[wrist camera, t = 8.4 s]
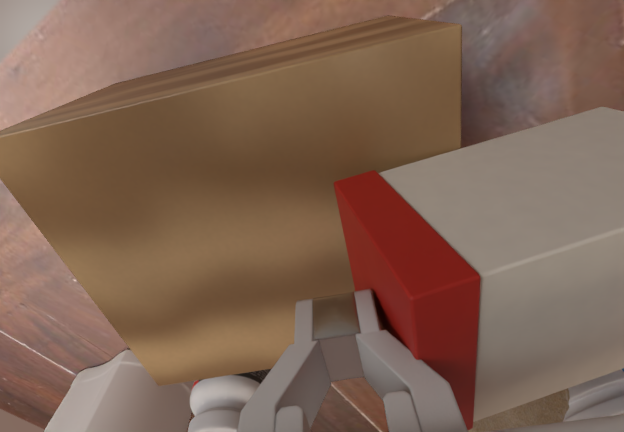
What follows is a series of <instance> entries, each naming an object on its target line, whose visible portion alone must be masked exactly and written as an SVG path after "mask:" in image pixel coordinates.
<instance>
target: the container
mask: <svg viewBox="0 0 624 432" xmlns="http://www.w3.org/2000/svg"><path fill="white" fill-rule="evenodd" d="M334 189H335V194H336V199H337V203H338V208H339V213H340V218H341V223H342V228H343V233H344V238H345V242H346V247H347V252H348V257H349V262H350V267H351V272H352V277H353V281H354V286H355V291H360V290H365V289H370V290H371V291H372V295H373V300H374V304H375V308H376V312H377V316H378V321H379V325H380V329H381V330H387V331H388V332H389V333H390V334H392V335H393V336H394V337H395V338H396V339H397V340H399V341H400V342H401V343H402V344H403V345H405V346H406V347H407V348H408V349H409V350H410V351H411V353H412V355H413V356H414V358H415V359H416V360H420V359H421V360H422V361H424V362H425V363H426V364H427V365H428V366H430V367H431V368H432V369H433V370H434V371H436V372H437V373H438V374H439V375H440V376H441V377H443V378H444V379H445V380H446V381H447V382H449V384H450V386H451V389H452V391H453V394H454V397H455V399H456V402H457V404H458V407H459V409H460V412H461V415H462V417H463V420H464V422H465V425H466V428H467V430H470V429H472V428H473V422H475V421H478V420H480V419H483V418H486V417H489V416H492V415H494V414H497V413H500V412H503V411H506V410H508V409H511V408H514V407H517V406H520V405H522V404H525V403H528V402H531V401H534V400H536V399H539V398H542V397H545V396H548V395H550V394H553V393H556V392H559V391H562V390H564V389H567V388H570V387H573V386H576V385H578V384H581V383H584V382H587V381H590V380H592V379H595V378H598V377H601V376H604V375H606V374H609V373H612V372H615V371H618V370H620V369H623V368H624V111H619V110H615V109H610V108H605V107H599V108H596V109H593V110H589V111H586V112H583V113H579V114H576V115H572V116H569V117H566V118H562V119H559V120H556V121H552V122H549V123H545V124H542V125H539V126H535V127H532V128H528V129H525V130H522V131H518V132H515V133H512V134H508V135H505V136H501V137H498V138H495V139H491V140H488V141H485V142H481V143H478V144H474V145H471V146H468V147H464V148H461V149H457V150H454V151H451V152H447V153H444V154H441V155H437V156H434V157H430V158H427V159H424V160H420V161H417V162H414V163H410V164H407V165H403V166H400V167H397V168H393V169H390V170H386V171H383V172H380V173H377V172H376V171H375V170H372V171H369V172H365V173H362V174H359V175H355V176H352V177H348V178H345V179H342V180H338V181H335V182H334Z"/></svg>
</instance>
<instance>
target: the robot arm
mask: <svg viewBox="0 0 624 432" xmlns="http://www.w3.org/2000/svg"><path fill="white" fill-rule="evenodd" d="M354 295H355V296H354ZM355 300H356V301H355ZM361 377H365V379H366V381H367V382H368V383H369V384H370V385H371V387H372V388H373V389H374V390H375V391H376V393H377V394H378V395H379V396H380V398H381V399H382V400H383V401H384V407H385V413H386V418H387V424H388V430H389V432H468V430H467V428H466V425H465V422H464V420H463V417H462V415H461V412H460V409H459V407H458V404H457V402H456V399H455V397H454V394H453V391H452V389H451V386H450V384H449V382H447V381H446V380H445V379H444V378H443V377H441V376H440V375H439V374H438V373H437V372H436V371H434V370H433V369H432V368H431V367H430V366H428V365H427V364H426V363H425V362H424V361H422V360H421V359H420V360H416V359H415V358H414V356H413V355H412V353H411V351H410V350H409V349H408V348H407V347H406V346H405V345H403V344H402V343H401V342H400V341H399V340H397V339H396V338H395V337H394V336H393V335H392V334H390V333H389V332H388V331H387V330H381V329H380V325H379V321H378V316H377V312H376V308H375V304H374V300H373V295H372V291H371V290H370V289H365V290H360V291H354V292H349V293H344V294H338V295H332V296H325V297H318V298H313V299H306V300H299V301H297V302H296V308H295V334H294V344H290V345H289V346H288V347H287V349H286V350H285V351H284V353H283V354H282V355H281V357H280V358H279V360H278V361H277V362H276V364H275V365H274V366H273V368H272V369H271V370H270V372H269V373H268V375H267V376H266V377H265V379H264V380H263V381H262V383H261V384H260V386H259V387H258V388H257V390H256V391H255V392H254V394H253V395H252V396H251V398H250V399H249V401H248V402H247V403H246V405H245V406H244V407H243V409H242V410H241V413H240V419H239V424H238V430H237V432H311V429H310V428H311V426H312V424H313V422H314V420H315V417H316V415H317V413H318V411H319V409H320V407H321V405H322V402H323V400H324V398H325V396H326V394H327V392H328V390H329V387H330V385H331V382H333V381H339V380H345V379H352V378H361ZM486 432H624V414H622V415H614V416H606V417H598V418H590V419H582V420H574V421H566V422H558V423H550V424H542V425H534V426H526V427H518V428H510V429H502V430H494V431H486Z"/></svg>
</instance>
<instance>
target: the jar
mask: <svg viewBox="0 0 624 432" xmlns="http://www.w3.org/2000/svg"><path fill="white" fill-rule="evenodd" d="M193 383H194V381H189V382H183V383H176V384H170V385H163V386H158V385H157V384H156V382H155V381H154V380H153V378H152V377H151V376H150V374H149V373H148V372H147V371H146V369H145V368H144V367H143V365H142V364H141V363H140V361H139V360H138V359H137V357H136V356H135V355H134V353H133V352H132V351H131V350H125V351H123V352H121V353H119V354H118V355H117V356H116V357H115V358H114V359H112V360H111V361H109V362H107V363H105V364H103V365H100V366H97V367H93V368H87V369H85V370H83V371H81V372H79V373H78V374H77V376H76V378H75V379H74V381H73V383H72V384H71V388H70V389H69V391H68V393H67V394H66V396H65V398H64V399H63V401H62V402H61V404H60V406H59V407H58V409H57V411H56V412H55V414H54V416H53V417H52V419H51V421H50V422H49V424H48V425H47V427H46V429H45V430H44V432H186V431H187V427H188V424H189V420H190V416H191V413H192V410H191V407H190V395H191V390H192V387H193Z"/></svg>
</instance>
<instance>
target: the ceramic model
mask: <svg viewBox="0 0 624 432" xmlns="http://www.w3.org/2000/svg"><path fill="white" fill-rule="evenodd" d="M569 399H570V396H569V390H568V388H567V389H564V390H562V391H559V392H556V393H553V394H550V395H548V396H545V397H542V398H539V399H536V400H534V401H531V402H528V403H525V404H522V405H520V406H517V407H514V408H511V409H508V410H506V411H503V412H500V413H497V414H494V415H492V416H489V417H486V418H483V419H480V420H478V421H475V422H473V428H472V429H470V430H468V432H486V431H494V430H502V429H510V428H518V427H526V426H534V425H542V424H550V423H558V422H563V420H564V417H565V414H566V412H567V411H568V409H569V408H570V407H569Z"/></svg>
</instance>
